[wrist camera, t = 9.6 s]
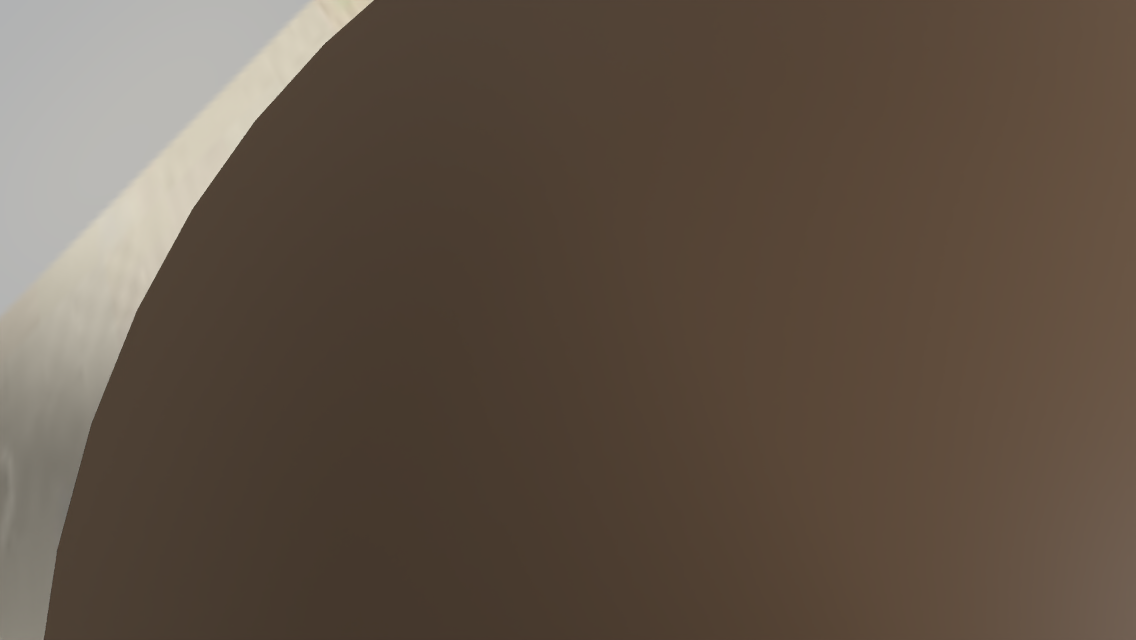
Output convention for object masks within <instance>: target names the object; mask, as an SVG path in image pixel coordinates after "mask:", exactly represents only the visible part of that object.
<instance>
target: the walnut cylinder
mask: <svg viewBox="0 0 1136 640" xmlns="http://www.w3.org/2000/svg"><path fill="white" fill-rule="evenodd" d="M44 640H1136V0H374V1H373V2H372V3H371V4H369V5H368V6H367V7H366V8H365V9H364V10H363V11H361V12H360V13H359V14H358V15H357V16H356V17H355V18H354V19H352V20H351V21H350V22H349V23H348V24H347V25H346V26H344V27H343V28H342V29H341V30H340V31H339V32H338V33H337V34H335V35H334V36H333V37H332V38H331V39H330V40H329V41H327V42H326V43H325V44H324V45H323V46H322V48H321V49H320V50H319V51H318V52H317V53H316V54H315V55H314V56H313V57H312V59H311V60H310V61H309V62H308V63H307V64H306V65H305V66H304V67H303V69H302V70H301V71H300V72H299V73H298V74H297V75H296V76H295V77H294V79H293V80H292V81H291V82H290V83H289V84H288V85H287V86H286V87H285V89H284V90H283V91H282V92H281V93H280V94H279V95H278V96H277V97H276V99H275V100H274V101H273V102H272V103H271V104H270V105H269V106H268V107H267V108H266V110H265V111H264V112H263V113H262V114H261V115H260V116H259V117H258V118H257V120H256V121H255V122H254V123H253V125H252V126H251V128H250V129H249V130H248V132H247V133H246V135H245V136H244V138H243V139H242V140H241V142H240V143H239V145H238V146H237V147H236V149H235V150H234V152H233V153H232V154H231V156H230V157H229V159H228V160H227V161H226V163H225V164H224V166H223V167H222V168H221V170H220V171H219V173H218V174H217V176H216V177H215V178H214V180H213V181H212V183H211V184H210V185H209V187H208V188H207V190H206V191H205V192H204V194H203V195H202V197H201V198H200V199H199V201H198V202H197V204H196V205H195V206H194V208H193V209H192V211H191V213H190V215H189V217H188V218H187V220H186V222H185V224H184V226H183V227H182V229H181V231H180V233H179V235H178V237H177V238H176V240H175V242H174V244H173V246H172V248H171V249H170V251H169V253H168V255H167V257H166V259H165V260H164V262H163V264H162V266H161V268H160V270H159V271H158V273H157V275H156V277H155V279H154V281H153V282H152V284H151V286H150V288H149V290H148V292H147V293H146V295H145V297H144V299H143V301H142V302H141V304H140V306H139V308H138V310H137V312H136V315H135V317H134V320H133V322H132V325H131V327H130V330H129V332H128V334H127V337H126V339H125V342H124V344H123V347H122V349H121V352H120V354H119V357H118V359H117V362H116V364H115V367H114V369H113V372H112V374H111V377H110V379H109V382H108V384H107V387H106V389H105V392H104V394H103V397H102V399H101V402H100V404H99V407H98V409H97V411H96V414H95V416H94V419H93V421H92V424H91V428H90V432H89V435H88V439H87V443H86V446H85V450H84V454H83V457H82V461H81V465H80V468H79V472H78V476H77V479H76V483H75V487H74V490H73V494H72V498H71V502H70V505H69V509H68V513H67V516H66V520H65V524H64V527H63V531H62V535H61V538H60V542H59V546H58V549H57V556H56V563H55V569H54V576H53V583H52V589H51V596H50V603H49V610H48V616H47V623H46V630H45V636H44Z"/></svg>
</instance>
